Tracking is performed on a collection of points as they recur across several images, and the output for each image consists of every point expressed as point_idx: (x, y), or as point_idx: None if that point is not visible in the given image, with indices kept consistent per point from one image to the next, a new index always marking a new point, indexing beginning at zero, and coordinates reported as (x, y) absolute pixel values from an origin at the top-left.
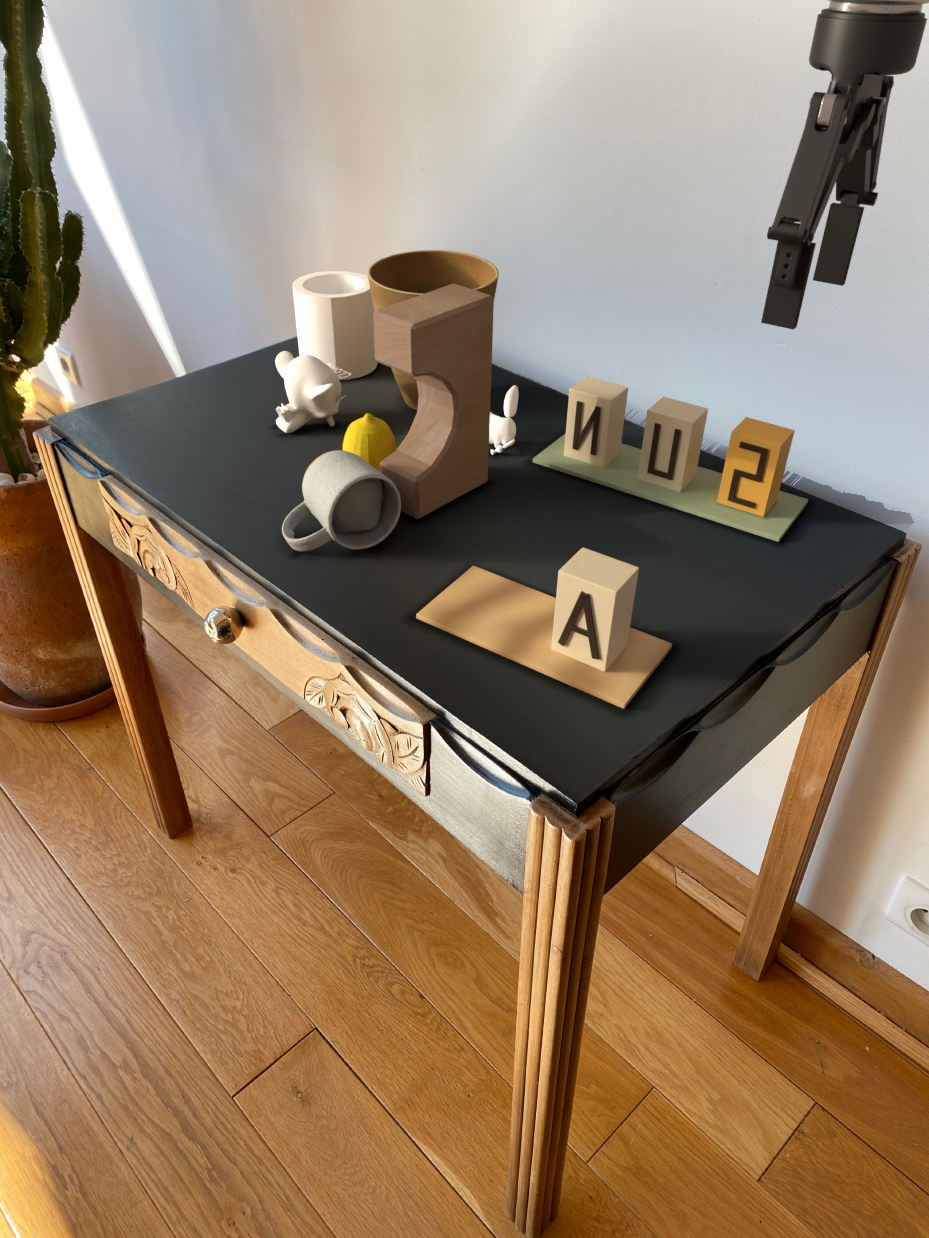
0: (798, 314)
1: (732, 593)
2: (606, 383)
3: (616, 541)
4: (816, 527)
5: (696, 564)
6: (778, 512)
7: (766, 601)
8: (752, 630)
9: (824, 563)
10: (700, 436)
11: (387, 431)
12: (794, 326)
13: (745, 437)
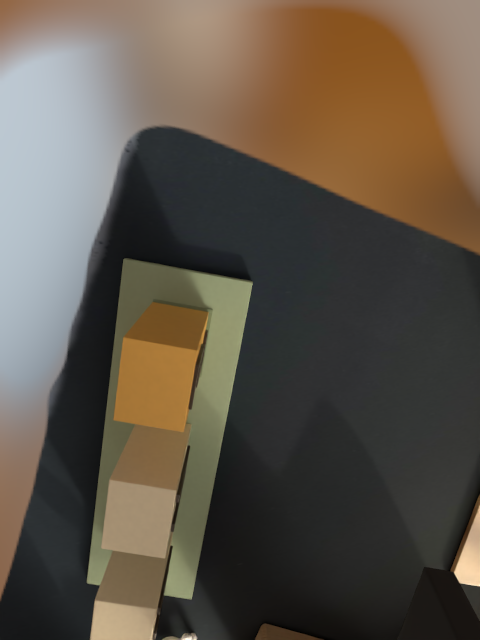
0: (456, 608)
1: (396, 316)
2: (99, 629)
3: (332, 463)
4: (187, 236)
5: (347, 368)
6: (183, 294)
7: (400, 274)
8: (467, 280)
9: (280, 214)
10: (135, 455)
11: None
12: (455, 579)
13: (187, 407)
